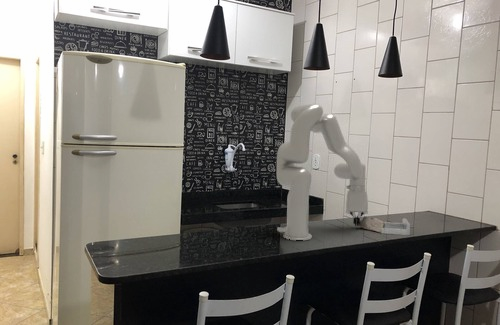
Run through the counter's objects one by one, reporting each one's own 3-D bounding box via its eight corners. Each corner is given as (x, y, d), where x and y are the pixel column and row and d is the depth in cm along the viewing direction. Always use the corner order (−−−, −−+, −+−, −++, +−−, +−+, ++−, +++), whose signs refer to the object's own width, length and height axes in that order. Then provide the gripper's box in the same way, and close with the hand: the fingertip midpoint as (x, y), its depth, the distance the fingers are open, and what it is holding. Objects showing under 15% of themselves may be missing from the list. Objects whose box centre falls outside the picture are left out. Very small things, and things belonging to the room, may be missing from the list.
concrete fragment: (377, 233, 188) (377, 220, 188) (355, 227, 200) (356, 215, 200) (388, 231, 192) (388, 219, 191) (366, 226, 204) (366, 214, 204)
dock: (381, 233, 188) (381, 222, 188) (379, 226, 203) (379, 217, 202) (409, 235, 185) (410, 224, 185) (405, 228, 200) (405, 218, 199)
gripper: (341, 188, 196) (340, 226, 197) (373, 189, 192) (372, 227, 193) (341, 187, 203) (341, 223, 204) (372, 188, 199) (371, 224, 200)
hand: (356, 225), depth 199 cm, fingers closed
